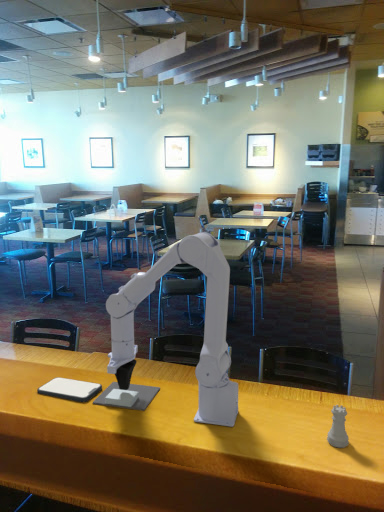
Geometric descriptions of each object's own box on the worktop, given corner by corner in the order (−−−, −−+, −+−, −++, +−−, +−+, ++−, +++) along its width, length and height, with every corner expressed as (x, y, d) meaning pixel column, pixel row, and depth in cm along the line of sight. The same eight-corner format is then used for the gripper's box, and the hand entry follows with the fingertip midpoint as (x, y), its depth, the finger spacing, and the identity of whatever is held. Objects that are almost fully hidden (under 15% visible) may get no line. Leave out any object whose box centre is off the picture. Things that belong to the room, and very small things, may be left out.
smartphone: (35, 395, 111) (85, 404, 105) (34, 389, 111) (84, 398, 105) (56, 381, 119) (104, 389, 114) (56, 376, 119) (104, 383, 113)
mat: (160, 388, 113) (160, 387, 113) (144, 410, 102) (144, 409, 102) (113, 383, 117) (113, 381, 117) (92, 403, 105) (92, 402, 105)
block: (138, 391, 107) (130, 401, 102) (138, 397, 107) (131, 407, 103) (113, 388, 109) (105, 397, 104) (113, 394, 109) (105, 403, 104)
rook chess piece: (334, 434, 92) (336, 400, 90) (353, 443, 88) (355, 408, 87) (322, 441, 89) (324, 406, 88) (340, 451, 85) (342, 415, 84)
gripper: (120, 328, 113) (121, 375, 115) (94, 347, 99) (96, 400, 101) (144, 330, 111) (145, 377, 113) (122, 349, 97) (123, 403, 99)
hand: (124, 388), depth 107 cm, fingers closed
